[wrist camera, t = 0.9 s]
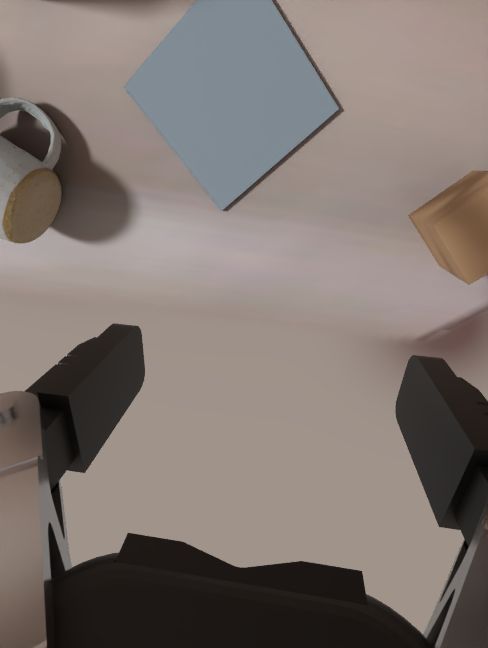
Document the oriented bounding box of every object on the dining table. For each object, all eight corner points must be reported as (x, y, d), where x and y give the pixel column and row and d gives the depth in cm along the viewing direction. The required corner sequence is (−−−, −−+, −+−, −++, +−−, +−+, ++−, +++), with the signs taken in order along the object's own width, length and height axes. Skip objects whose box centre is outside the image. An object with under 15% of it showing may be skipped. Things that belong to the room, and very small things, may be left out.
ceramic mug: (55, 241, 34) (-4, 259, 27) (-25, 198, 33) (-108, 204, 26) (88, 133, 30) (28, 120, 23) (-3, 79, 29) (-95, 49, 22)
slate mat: (240, -48, 24) (239, -52, 23) (338, 109, 27) (339, 108, 26) (125, 88, 28) (123, 87, 27) (222, 210, 31) (221, 211, 30)
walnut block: (472, 170, 27) (513, 171, 22) (502, 226, 29) (547, 238, 24) (407, 215, 29) (432, 225, 24) (439, 265, 31) (468, 284, 26)
